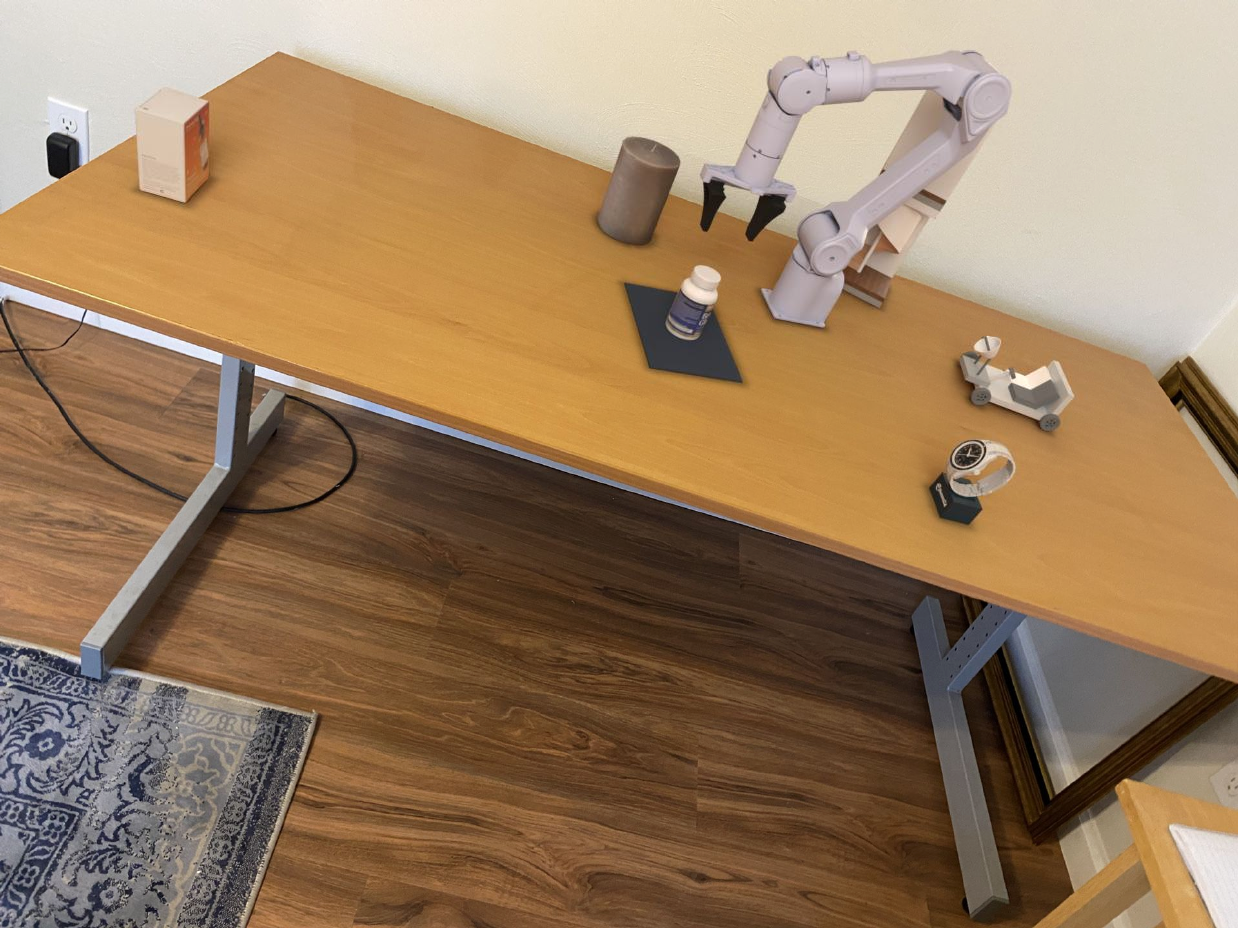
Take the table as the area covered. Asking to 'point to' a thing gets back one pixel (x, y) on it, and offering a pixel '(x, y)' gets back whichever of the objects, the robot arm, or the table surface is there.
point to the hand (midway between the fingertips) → (726, 233)
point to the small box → (172, 144)
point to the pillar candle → (638, 190)
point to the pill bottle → (694, 303)
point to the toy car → (1017, 385)
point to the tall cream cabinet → (903, 210)
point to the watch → (958, 493)
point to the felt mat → (673, 352)
